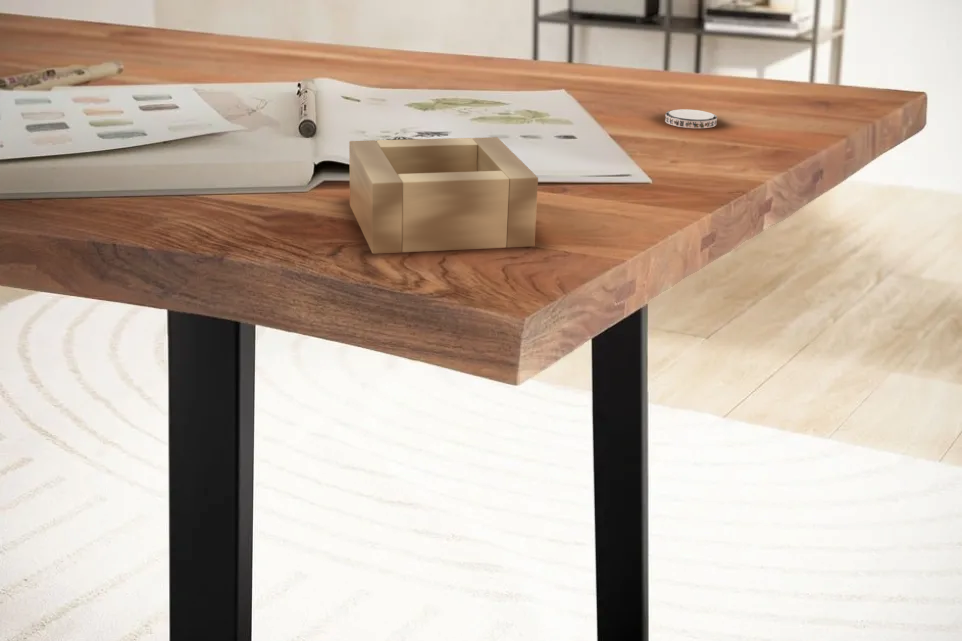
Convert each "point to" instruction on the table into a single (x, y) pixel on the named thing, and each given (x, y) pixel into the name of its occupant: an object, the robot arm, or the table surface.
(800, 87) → the table surface
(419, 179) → the holder
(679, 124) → the washi tape
